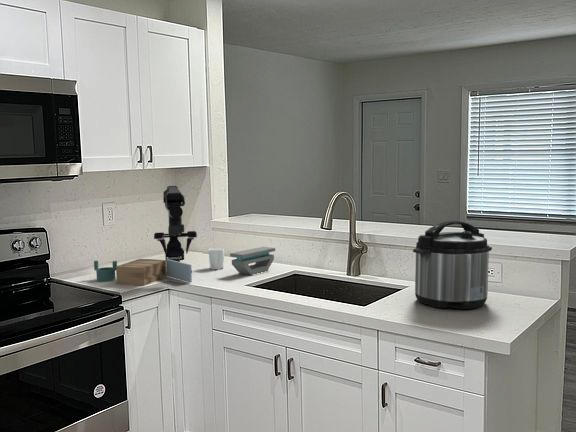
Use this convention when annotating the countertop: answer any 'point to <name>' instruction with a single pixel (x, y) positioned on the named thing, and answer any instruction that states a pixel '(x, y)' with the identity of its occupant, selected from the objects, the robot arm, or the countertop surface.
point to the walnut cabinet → (141, 272)
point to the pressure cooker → (452, 267)
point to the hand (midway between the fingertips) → (176, 254)
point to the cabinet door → (178, 270)
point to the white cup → (216, 258)
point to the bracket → (105, 272)
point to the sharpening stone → (253, 260)
